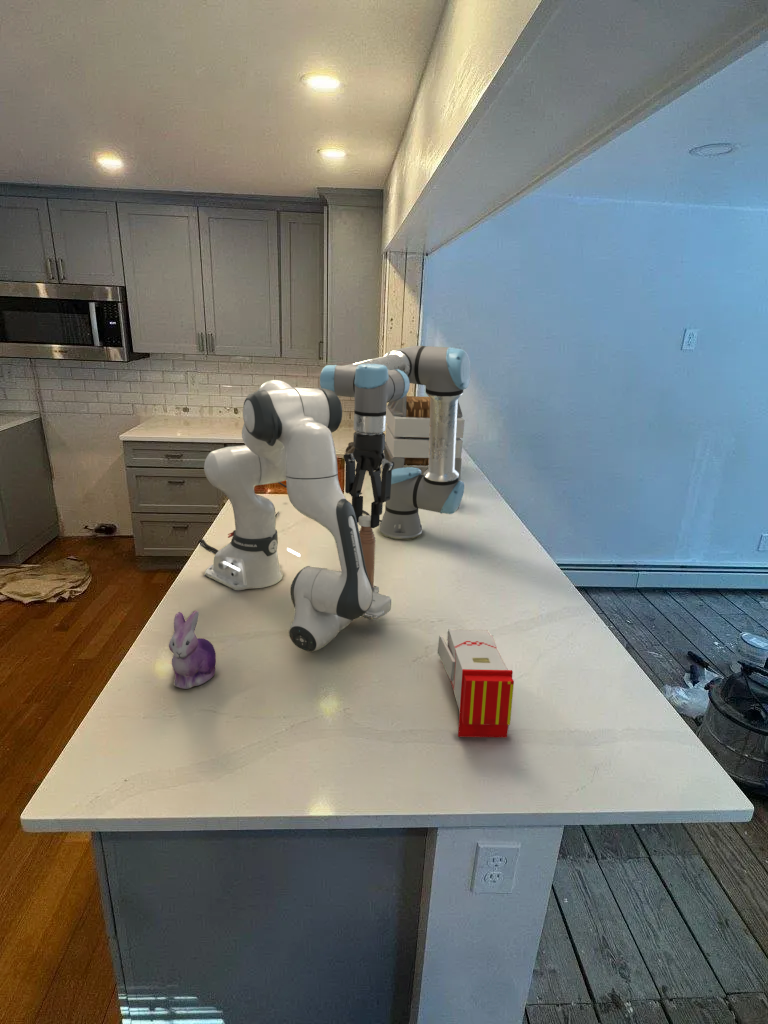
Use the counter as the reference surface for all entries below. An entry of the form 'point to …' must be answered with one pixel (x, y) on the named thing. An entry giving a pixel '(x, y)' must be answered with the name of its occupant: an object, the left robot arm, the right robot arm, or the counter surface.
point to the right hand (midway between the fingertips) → (366, 524)
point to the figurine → (191, 653)
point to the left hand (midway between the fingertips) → (365, 585)
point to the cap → (365, 521)
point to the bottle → (368, 550)
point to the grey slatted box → (414, 433)
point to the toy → (478, 682)
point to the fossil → (350, 448)
